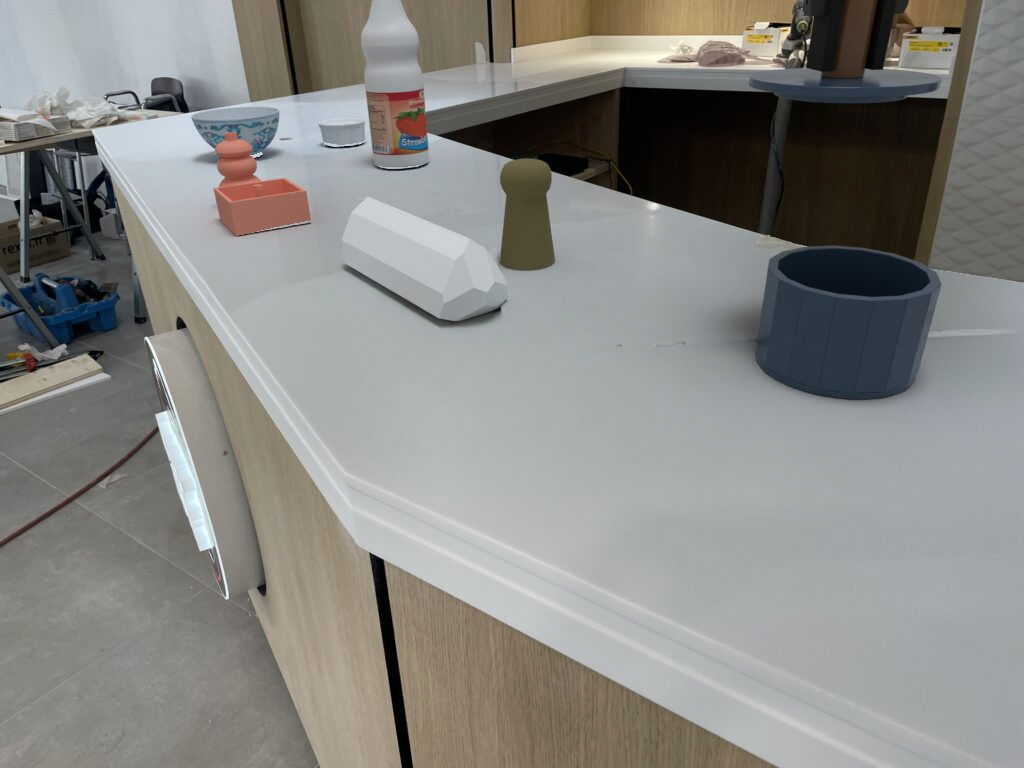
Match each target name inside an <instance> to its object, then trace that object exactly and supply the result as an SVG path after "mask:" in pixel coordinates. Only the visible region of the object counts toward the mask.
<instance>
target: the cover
mask: <svg viewBox="0 0 1024 768" xmlns="http://www.w3.org/2000/svg"><path fill="white" fill-rule="evenodd" d="M877 4H878V0H844V5H843V11H842V17H841V23H840V29H839V35H838V40H837V46H836V52H835V58H834V64H833V70H832V71H828V72H821V71H816V70H812V69H808V68H806V67H796V68H782V69H770V70H763V71H758V72H755V73H752V74H751V75H749V80H748V85H749V87H750V88H752V89H755V90H757V91H763V92H769V93H773V95H774V96H776V97H777V98H781V99H785V100H786V99H787V100H790V101H791V100H792V101H800V102H809V103H810V102H811V103H824V104H876V103H878V104H879V103H889V102H896V101H901V100H905V99H907V98H908V97H909V96H917V95H925V94H929V93H933V92H936V91H939V90H940V89H941V85H942V81H943V79H942V77H941V76H938V75H936V74H932V73H929V72H922V71H914V70H903V69H889V68H883V70H870V69H865V68H866V62H867V57H868V52H869V47H870V41H871V36H872V31H873V25H874V20H875V15H876V10H877Z"/></svg>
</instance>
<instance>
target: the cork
mask: <svg viewBox="0 0 1024 768" xmlns="http://www.w3.org/2000/svg"><path fill="white" fill-rule="evenodd" d="M501 168H502V169H501V171H500V175H499V182H500V186H501V189H502V191H503V192H504V194H505V204H504V205H505V206H504V215H503V216H504V217H503V225H502V235H501V246H500V256H499V264H500V266H501V267H503V268H505V269H508V270H512V271H521V272H524V271H525V272H527V271H528V272H531V271H540V270H544V269H548V268H550V267H553V265H554V264H555V263H556V257H555V250H554V241H553V233H552V228H551V219H550V213H549V212H550V211H549V205H548V196H547V193H548V192H549V191H550V189H551V186H552V177H553V176H552V169H551V168H550V166H549V164H548V162H545V161H543V160H541V159H536V158H518V159H513V160H510V161H508V162H506V163H504V164H503V167H501Z"/></svg>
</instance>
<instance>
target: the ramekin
mask: <svg viewBox="0 0 1024 768" xmlns="http://www.w3.org/2000/svg"><path fill="white" fill-rule="evenodd" d="M317 124H318V127H319V129H320V133H321V138H322V142H323V141H324V142H326V143H331V144H337V145H345V144H353V143H359V142H363V141H364V140H365V141H366V133H365V132H366V131H365V130H366V129H365V125H366V120H365V119H363V118H358V117H341V118H331V119H325V120H324V119H323V120H321V121H319V122H318V123H317Z"/></svg>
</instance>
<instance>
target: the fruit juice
mask: <svg viewBox="0 0 1024 768" xmlns="http://www.w3.org/2000/svg"><path fill="white" fill-rule="evenodd" d="M370 2H371V3H370V9H369V13H368V14H369V15H368V19H367V21H366V23H365V25H364V27H363V28H362V31H361V35H360V44H361V49H362V52H363V55H364V58H365V63H366V65H365V68H364V90H365V96H366V97H365V99H366V106H367V115H368V125H369V133H370V140H371V149H372V158H373V163H374V165H375V164H376V165H378V166H382V167H408V166H416V165H421V164H424V163H426V162H428V163H429V162H430V161H429V160H430V152H429V140H428V139H429V138H428V128H427V126H428V125H427V113H426V101H425V100H426V99H425V87H424V77H423V71H422V68H421V66H420V64H419V61H418V55H419V50H420V40H419V39H420V38H419V33H418V32H417V29H416V27H415V26H414V25H413V24H412V22H411V21H410V19H409V18H408V16H407V13H406V10H405V8H404V6H403V2H402V0H371V1H370ZM376 165H375V166H376Z"/></svg>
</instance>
